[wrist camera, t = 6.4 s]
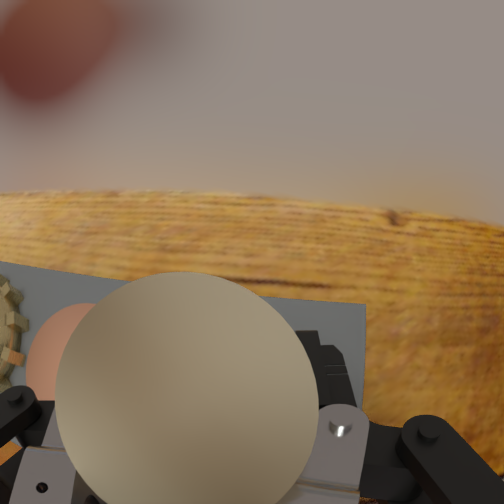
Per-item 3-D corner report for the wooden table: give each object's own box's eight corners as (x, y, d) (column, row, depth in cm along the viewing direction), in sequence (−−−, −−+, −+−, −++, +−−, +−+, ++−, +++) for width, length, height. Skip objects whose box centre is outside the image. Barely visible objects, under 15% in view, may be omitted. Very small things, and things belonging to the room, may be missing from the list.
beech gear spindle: (234, 296, 16) (185, 138, 7) (362, 397, 13) (497, 357, 4) (125, 407, 13) (-42, 369, 5) (246, 519, 11) (198, 653, 2)
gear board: (359, 312, 18) (366, 303, 16) (339, 518, 12) (345, 526, 11) (-17, 263, 21) (-28, 255, 20) (-50, 390, 15) (-62, 387, 14)
